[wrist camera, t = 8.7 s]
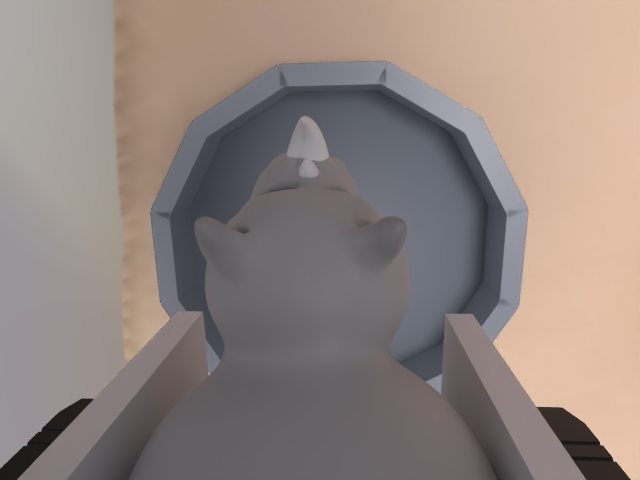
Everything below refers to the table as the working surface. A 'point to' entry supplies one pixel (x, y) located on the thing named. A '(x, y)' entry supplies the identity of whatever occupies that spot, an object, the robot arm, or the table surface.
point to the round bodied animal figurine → (309, 344)
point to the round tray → (374, 186)
